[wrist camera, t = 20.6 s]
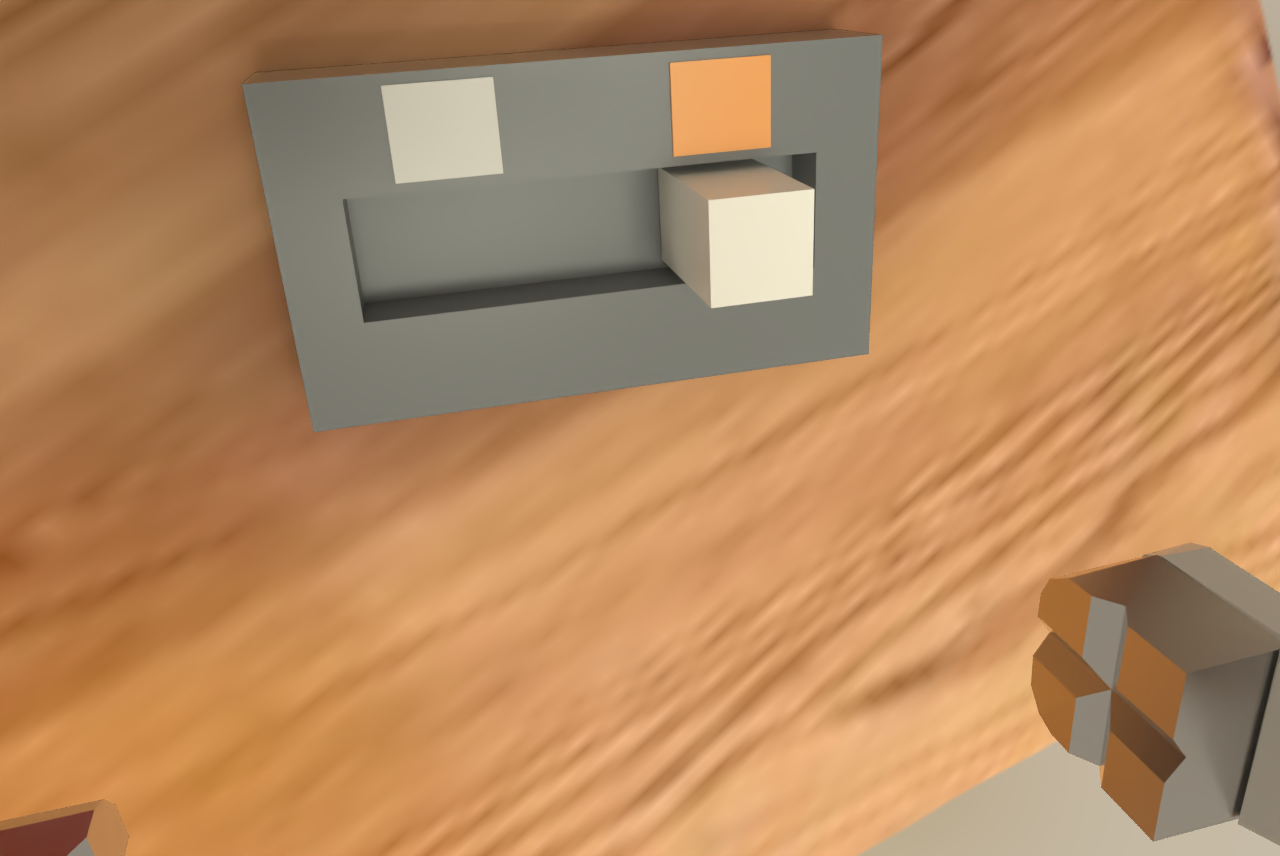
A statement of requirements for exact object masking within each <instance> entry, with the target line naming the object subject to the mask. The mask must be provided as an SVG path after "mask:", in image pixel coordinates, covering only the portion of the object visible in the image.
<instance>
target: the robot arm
mask: <svg viewBox="0 0 1280 856" xmlns="http://www.w3.org/2000/svg"><path fill="white" fill-rule="evenodd" d="M1038 617H1039V619H1040V620H1041V621H1042V623H1043V624H1044V625H1045V627H1046V628H1047V629H1048V630H1049V632H1050V633H1049V634H1048V635H1047V637H1046V638H1045V640H1044V641H1043V642H1042V644H1041V645H1040V647H1039V648H1038V649H1037V651H1036V652H1035V654H1034V655H1033V665H1032V679H1031V686H1032V690H1033V693H1034V697H1035V700H1036V704H1037V707H1038V711H1039V714H1040V715H1041V717H1042V719H1043V721H1044V722H1045V724H1046V726H1047V727H1048V729H1049V731H1050V733H1051V734H1052V735H1053V736H1054V737H1055V738H1056V740H1057V741H1058V742H1059V743H1060V744H1061V745H1062V746H1063V747H1064V748H1065V749H1066V750H1067V752H1068V753H1070V754H1073V755H1075V756H1077V757H1080V758H1082V759H1084V760H1087V761H1089V762H1092V763H1094V764H1096V765H1099V766H1100V778H1101V788H1102V789H1103V790H1104V791H1105V792H1106V793H1107V794H1108V795H1109V796H1110V797H1111V798H1112V799H1113V800H1114V801H1115V802H1116V803H1117V804H1118V805H1119V806H1120V807H1121V808H1122V809H1123V811H1124V812H1125V813H1126V814H1127V815H1128V816H1129V817H1130V818H1131V819H1132V820H1133V821H1134V822H1135V823H1136V824H1137V825H1138V826H1139V827H1140V828H1141V829H1142V830H1143V831H1144V832H1145V834H1146V835H1147V836H1148V837H1149V838H1150V839H1151V840H1152V841H1157V840H1161V839H1164V838H1168V837H1171V836H1175V835H1179V834H1183V833H1187V832H1191V831H1194V830H1198V829H1202V828H1205V827H1209V826H1213V825H1216V824H1220V823H1224V822H1228V821H1231V820H1235V819H1239V820H1238V824H1239V825H1241V826H1243V827H1245V828H1247V829H1249V830H1251V831H1253V832H1255V833H1256V834H1258V835H1260V836H1262V837H1264V838H1266V839H1268V840H1270V841H1272V842H1274V843H1276V844H1278V845H1280V593H1279V592H1277V591H1276V590H1274V589H1273V588H1271V587H1270V586H1268V585H1267V584H1265V583H1264V582H1262V581H1261V580H1259V579H1257V578H1256V577H1254V576H1253V575H1251V574H1250V573H1248V572H1247V571H1245V570H1244V569H1242V568H1240V567H1239V566H1237V565H1236V564H1234V563H1233V562H1231V561H1230V560H1228V559H1227V558H1225V557H1223V556H1222V555H1220V554H1219V553H1217V552H1216V551H1214V550H1213V549H1211V548H1210V547H1206V546H1201V545H1197V544H1193V543H1188V544H1184V545H1180V546H1176V547H1172V548H1169V549H1165V550H1161V551H1157V552H1153V553H1149V554H1145V555H1143V556H1142V557H1141V558H1135V559H1131V560H1126V561H1122V562H1118V563H1114V564H1110V565H1106V566H1101V567H1097V568H1093V569H1089V570H1085V571H1081V572H1077V573H1072V574H1068V575H1064V576H1060V577H1056V578H1052V579H1049V581H1048V583H1047V584H1046V586H1045V588H1044V589H1043V591H1042V593H1041V597H1040V604H1039V612H1038ZM128 839H129V835H128V832H127V830H126V828H125V825H124V823H123V821H122V818H121V816H120V814H119V811H118V809H117V807H116V805H115V804H113V803H111V802H109V801H107V800H104V799H103V800H98V801H93V802H88V803H84V804H79V805H74V806H69V807H65V808H60V809H55V810H51V811H46V812H41V813H36V814H32V815H27V816H22V817H17V818H13V819H8V820H3V821H0V856H125V853H126V848H127V844H128Z"/></svg>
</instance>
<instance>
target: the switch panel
mask: <svg viewBox="0 0 1280 856" xmlns="http://www.w3.org/2000/svg"><path fill="white" fill-rule="evenodd" d="M881 57H882V35H880V34H871V33H863V32H855V31H847V30H839V29H827V30H814V31H801V32H787V33H774V34H761V35H747V36H734V37H721V38H708V39H694V40H681V41H668V42H654V43H641V44H628V45H614V46H601V47H588V48H575V49H561V50H548V51H535V52H521V53H508V54H495V55H481V56H468V57H455V58H441V59H428V60H415V61H402V62H388V63H375V64H362V65H348V66H335V67H322V68H308V69H295V70H282V71H269V72H255V73H254V74H253V75H252V76H251V77H250V78H248V79H247V80H246V81H245V82H244V83H243V84H242V88H243V93H244V98H245V103H246V107H247V112H248V117H249V122H250V127H251V132H252V137H253V141H254V146H255V151H256V156H257V161H258V166H259V170H260V175H261V180H262V185H263V190H264V195H265V199H266V204H267V209H268V214H269V219H270V224H271V229H272V233H273V238H274V243H275V248H276V253H277V258H278V262H279V267H280V272H281V277H282V282H283V287H284V291H285V296H286V301H287V306H288V311H289V316H290V321H291V325H292V330H293V335H294V340H295V345H296V350H297V354H298V359H299V364H300V369H301V374H302V379H303V383H304V388H305V393H306V398H307V403H308V408H309V413H310V417H311V422H312V427H313V432H319V431H326V430H333V429H340V428H347V427H354V426H361V425H369V424H376V423H383V422H390V421H397V420H404V419H411V418H418V417H425V416H432V415H439V414H446V413H454V412H461V411H468V410H475V409H482V408H489V407H496V406H503V405H510V404H517V403H524V402H531V401H539V400H546V399H553V398H560V397H567V396H574V395H581V394H588V393H595V392H602V391H609V390H616V389H624V388H631V387H638V386H645V385H652V384H659V383H666V382H673V381H680V380H687V379H694V378H701V377H709V376H716V375H723V374H730V373H737V372H744V371H751V370H758V369H765V368H772V367H779V366H786V365H794V364H801V363H808V362H815V361H822V360H829V359H836V358H843V357H850V356H857V355H864V354H869V332H870V309H871V286H872V263H873V241H874V218H875V195H876V172H877V149H878V126H879V103H880V80H881ZM744 159H754V160H756V161H758V162H760V163H762V164H764V165H766V166H769V167H771V168H773V169H775V170H777V171H779V172H781V173H783V174H785V175H787V176H789V177H791V178H793V179H795V180H797V181H799V182H801V183H803V184H805V185H807V186H809V187H811V188H813V189H814V242H813V295H812V296H804V297H796V298H788V299H780V300H772V301H765V302H757V303H749V304H741V305H733V306H726V307H718V308H710V307H709V306H708V305H707V304H706V303H705V302H704V301H703V300H702V299H701V298H700V297H699V296H698V295H697V294H696V293H695V292H694V291H693V290H692V289H691V288H690V287H689V286H688V285H687V284H686V283H685V282H684V281H683V280H682V279H681V278H680V277H679V276H678V275H677V274H676V273H675V272H674V271H673V270H672V269H671V268H670V267H669V266H668V265H667V264H666V263H665V262H664V261H663V260H662V249H661V227H660V205H659V183H658V168H664V167H674V166H684V165H694V164H704V163H714V162H724V161H734V160H744Z"/></svg>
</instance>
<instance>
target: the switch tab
mask: <svg viewBox="0 0 1280 856" xmlns="http://www.w3.org/2000/svg"><path fill="white" fill-rule="evenodd" d="M658 183H659V205H660V227H661V249H662V260H663V261H664V262H665V263H666V264H667V265H668V266H669V267H670V268H671V269H672V270H673V271H674V272H675V273H676V274H677V275H678V276H679V277H680V278H681V279H682V280H683V281H684V282H685V283H686V284H687V285H688V286H689V287H690V288H691V289H692V290H693V291H694V292H695V293H696V294H697V295H698V296H699V297H700V298H701V299H702V300H703V301H704V302H705V303H706V304H707V305H708V306H709V307H710V308H718V307H726V306H733V305H741V304H749V303H757V302H765V301H772V300H780V299H788V298H796V297H804V296H812V295H813V242H814V189H813V188H811V187H809V186H807V185H805V184H803V183H801V182H799V181H797V180H795V179H793V178H791V177H789V176H787V175H785V174H783V173H781V172H779V171H777V170H775V169H773V168H771V167H769V166H766V165H764V164H762V163H760V162H758V161H756V160H754V159H744V160H734V161H724V162H714V163H704V164H694V165H684V166H674V167H664V168H658Z"/></svg>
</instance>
